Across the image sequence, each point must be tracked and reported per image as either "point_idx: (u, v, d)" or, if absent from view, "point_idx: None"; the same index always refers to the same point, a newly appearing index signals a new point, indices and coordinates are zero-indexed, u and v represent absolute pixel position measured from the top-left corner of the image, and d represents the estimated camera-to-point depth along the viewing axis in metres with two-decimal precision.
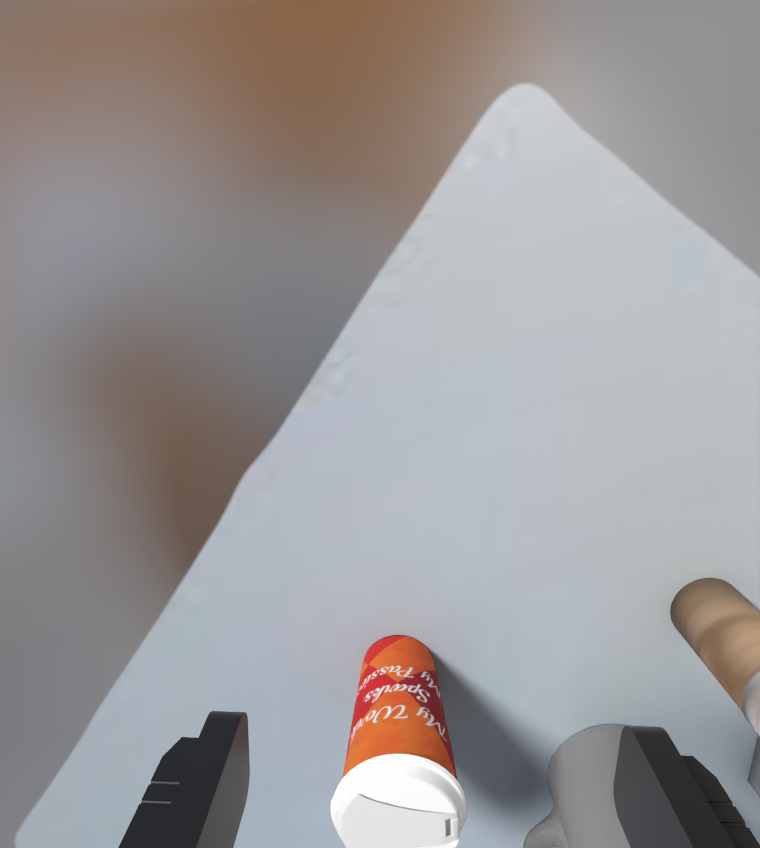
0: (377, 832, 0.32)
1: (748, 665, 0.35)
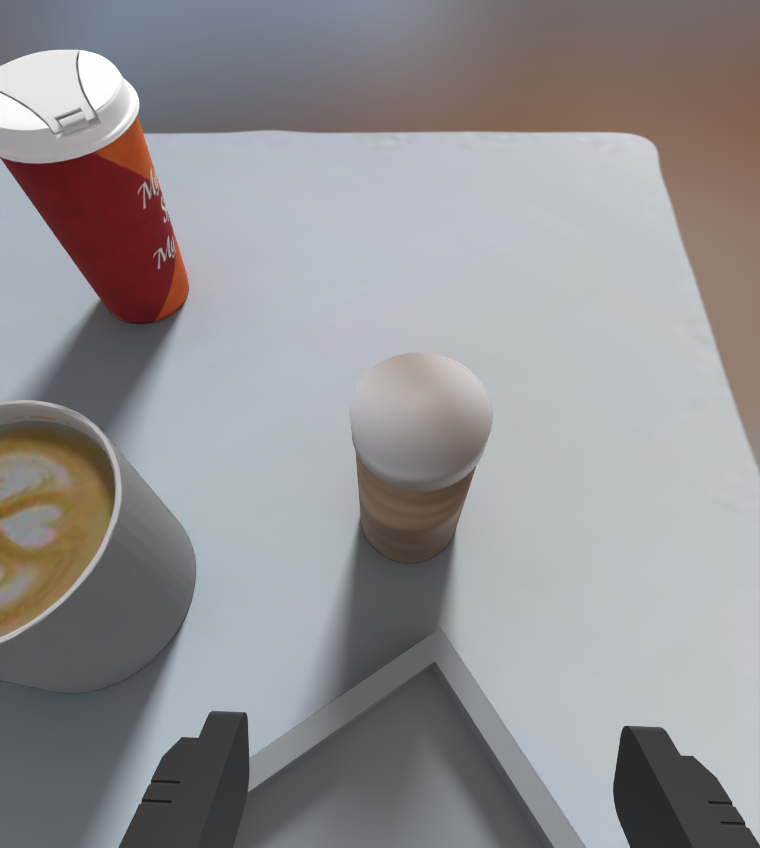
0: (33, 76, 0.28)
1: None
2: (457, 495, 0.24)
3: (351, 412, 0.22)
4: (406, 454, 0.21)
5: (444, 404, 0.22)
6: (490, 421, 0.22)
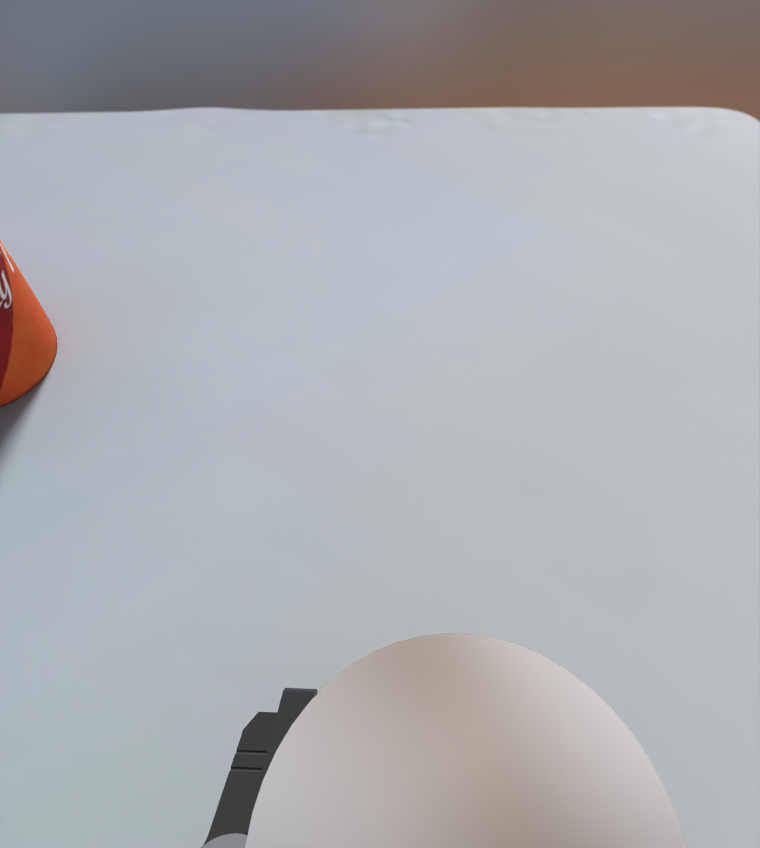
0: None
1: None
2: None
3: None
4: None
5: (538, 841, 0.07)
6: None
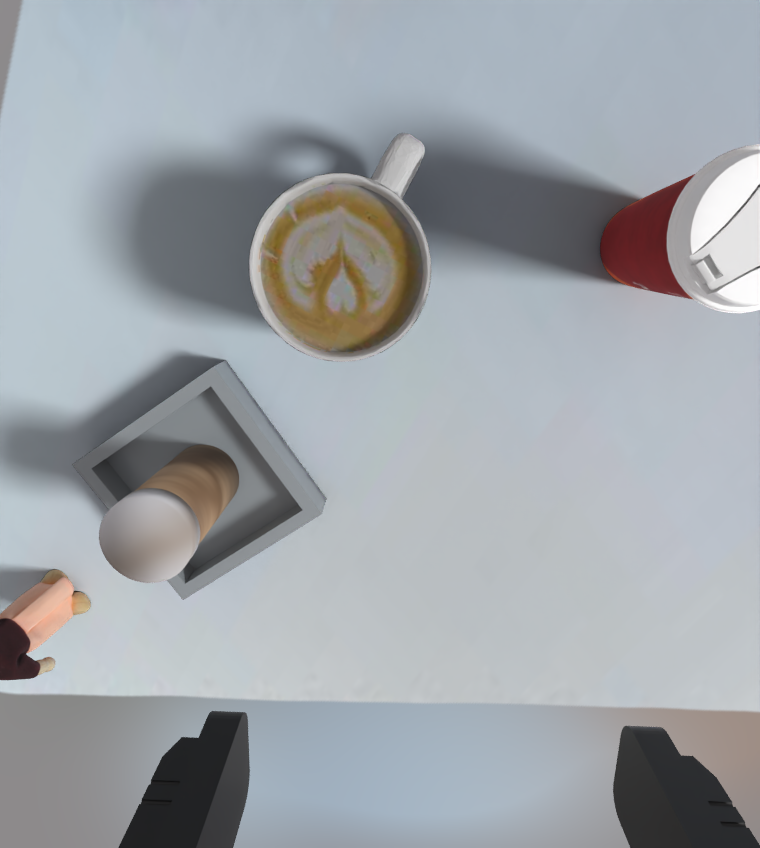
0: None
1: (202, 525, 0.36)
2: None
3: (138, 498, 0.33)
4: (111, 531, 0.34)
5: (151, 554, 0.34)
6: (142, 581, 0.34)
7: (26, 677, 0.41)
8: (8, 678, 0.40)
